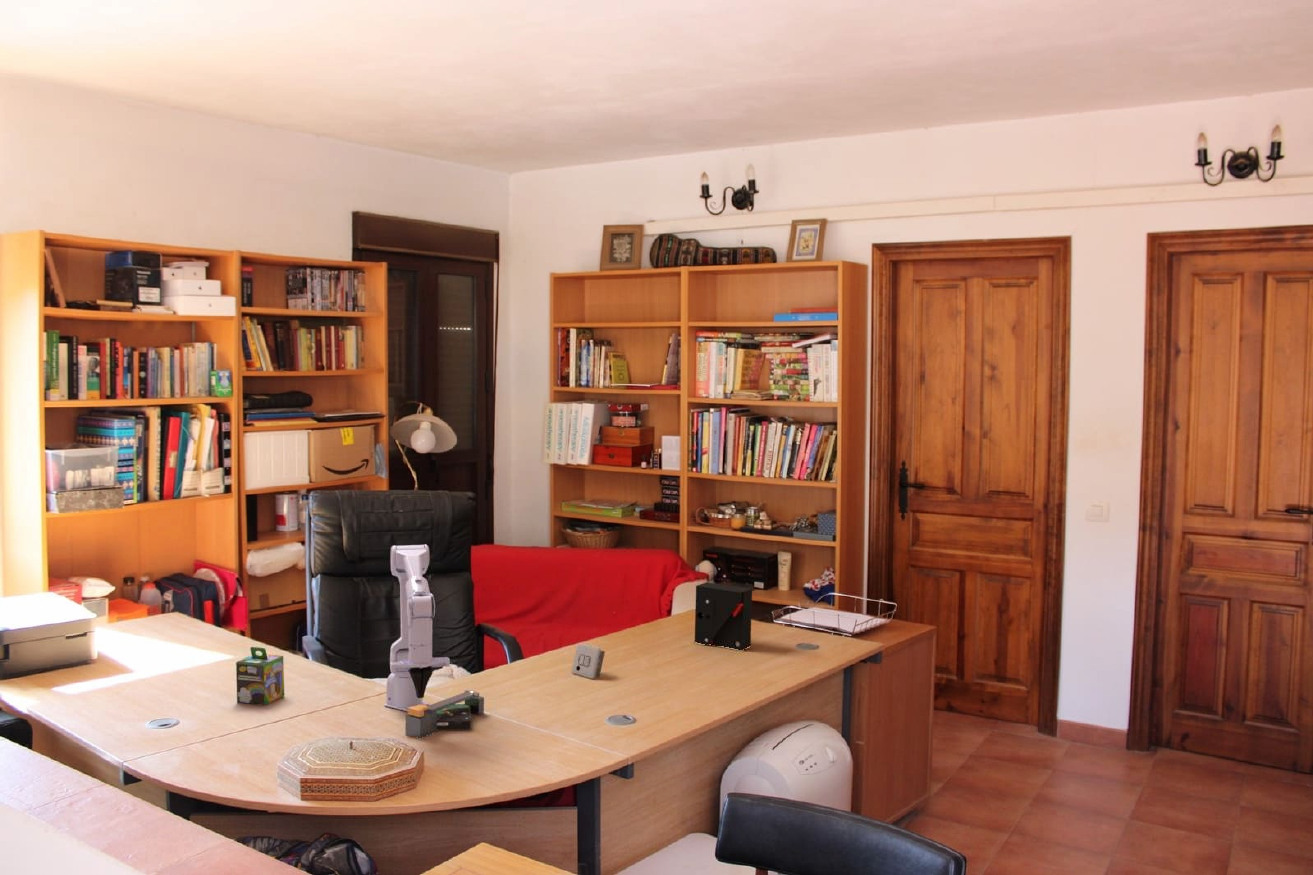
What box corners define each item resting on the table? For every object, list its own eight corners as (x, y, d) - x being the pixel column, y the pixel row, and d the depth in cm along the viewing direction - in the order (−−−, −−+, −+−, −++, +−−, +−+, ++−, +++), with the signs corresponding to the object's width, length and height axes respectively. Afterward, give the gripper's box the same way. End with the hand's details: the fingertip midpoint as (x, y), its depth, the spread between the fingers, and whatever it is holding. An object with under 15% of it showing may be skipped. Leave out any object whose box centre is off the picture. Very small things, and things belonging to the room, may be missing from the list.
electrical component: (753, 646, 363) (755, 587, 362) (739, 652, 354) (741, 592, 353) (708, 638, 372) (709, 581, 371) (693, 644, 364) (695, 586, 363)
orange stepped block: (407, 714, 268) (407, 707, 268) (418, 710, 271) (418, 703, 271) (419, 717, 266) (419, 710, 266) (430, 713, 269) (430, 706, 269)
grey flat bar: (421, 711, 272) (421, 706, 272) (467, 694, 287) (468, 689, 287) (432, 714, 270) (432, 709, 270) (479, 697, 285) (479, 691, 285)
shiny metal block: (405, 734, 268) (405, 715, 268) (469, 710, 289) (469, 691, 288) (420, 738, 266) (420, 719, 265) (483, 713, 286) (484, 695, 286)
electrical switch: (570, 673, 325) (573, 643, 326) (582, 672, 329) (585, 642, 329) (592, 680, 319) (595, 649, 319) (604, 678, 323) (607, 647, 323)
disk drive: (471, 731, 273) (470, 713, 287) (472, 720, 273) (470, 703, 287) (430, 731, 271) (430, 714, 285) (430, 721, 270) (431, 703, 285)
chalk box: (285, 696, 297) (285, 644, 296) (264, 706, 288) (264, 652, 287) (256, 693, 300) (256, 641, 299) (235, 702, 291) (235, 649, 290)
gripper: (394, 650, 261) (394, 704, 261) (453, 644, 267) (452, 698, 268) (388, 643, 267) (388, 696, 268) (445, 638, 273) (445, 690, 274)
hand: (420, 697), depth 268 cm, fingers closed
